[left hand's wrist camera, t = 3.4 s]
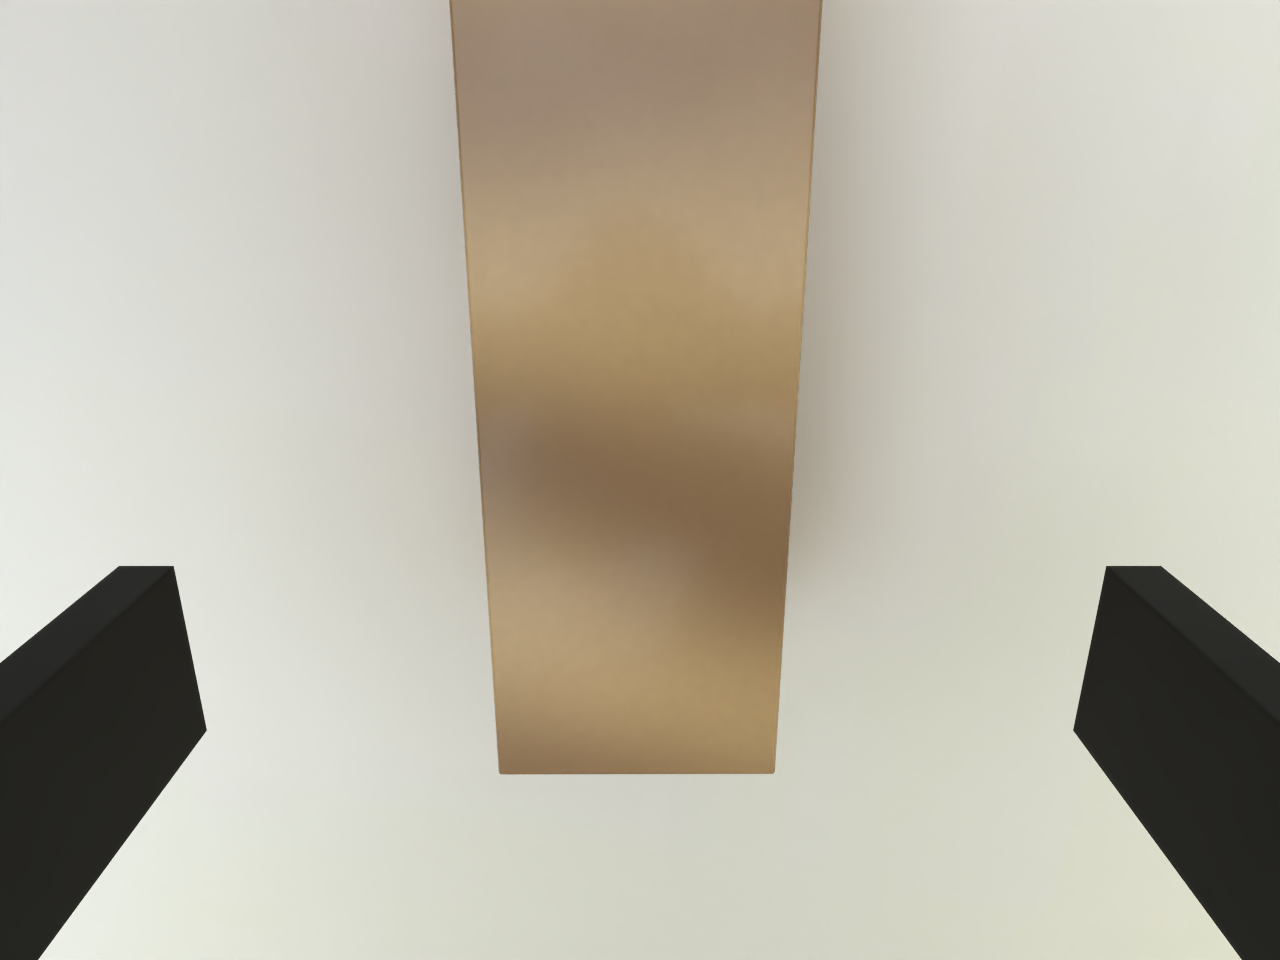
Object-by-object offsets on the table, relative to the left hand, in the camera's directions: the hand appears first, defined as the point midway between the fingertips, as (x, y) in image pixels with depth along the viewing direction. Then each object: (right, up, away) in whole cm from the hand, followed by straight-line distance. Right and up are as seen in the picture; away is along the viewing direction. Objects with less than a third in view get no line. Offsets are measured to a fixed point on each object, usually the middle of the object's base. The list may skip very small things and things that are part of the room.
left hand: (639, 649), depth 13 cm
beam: (0, +25, +3) cm, 25 cm away
